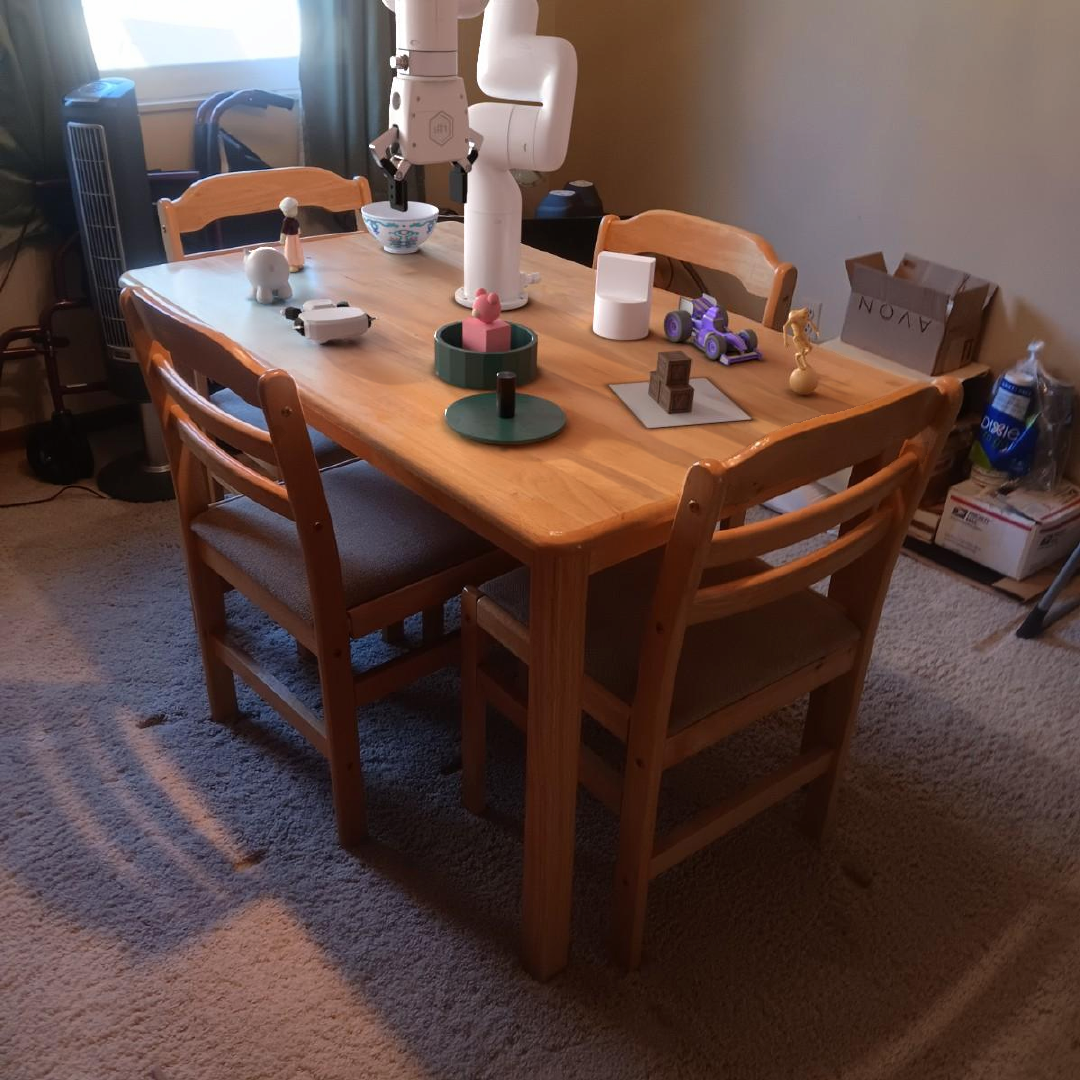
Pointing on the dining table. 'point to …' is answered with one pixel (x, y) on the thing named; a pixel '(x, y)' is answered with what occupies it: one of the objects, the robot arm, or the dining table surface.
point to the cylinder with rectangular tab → (623, 295)
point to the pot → (484, 358)
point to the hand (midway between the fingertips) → (429, 205)
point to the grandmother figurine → (291, 234)
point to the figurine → (801, 353)
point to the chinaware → (400, 225)
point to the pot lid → (505, 415)
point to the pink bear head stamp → (486, 325)
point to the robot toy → (328, 320)
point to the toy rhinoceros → (267, 274)
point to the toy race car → (710, 330)
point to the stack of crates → (677, 396)
